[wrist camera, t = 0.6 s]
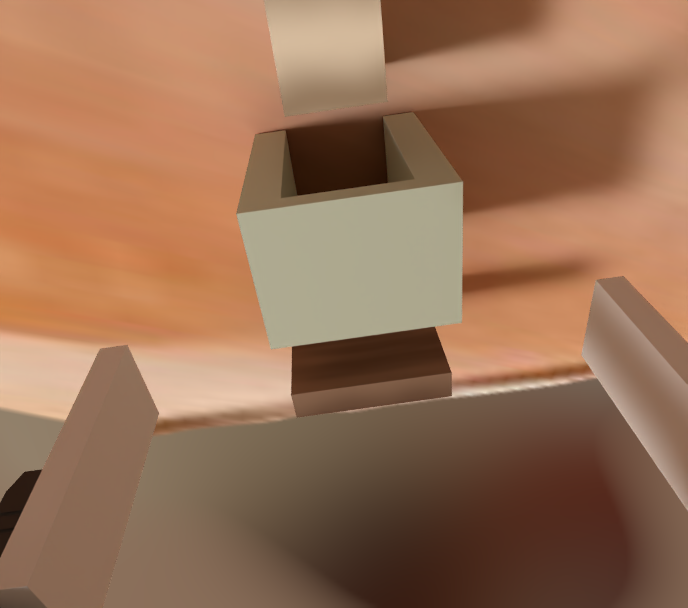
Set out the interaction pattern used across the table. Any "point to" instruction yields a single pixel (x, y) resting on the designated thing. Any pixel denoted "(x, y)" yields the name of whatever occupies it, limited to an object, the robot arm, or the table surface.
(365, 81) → the peg
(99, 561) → the robot arm
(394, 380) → the wall
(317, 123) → the table surface
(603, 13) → the table surface
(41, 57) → the table surface
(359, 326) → the block
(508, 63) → the table surface
